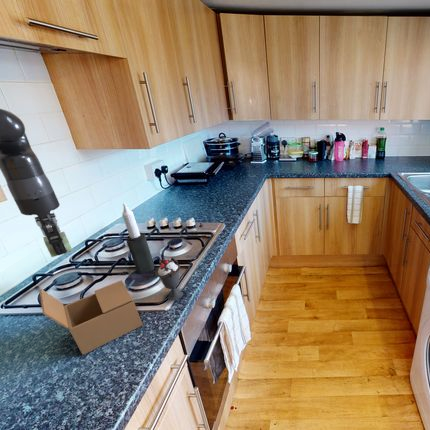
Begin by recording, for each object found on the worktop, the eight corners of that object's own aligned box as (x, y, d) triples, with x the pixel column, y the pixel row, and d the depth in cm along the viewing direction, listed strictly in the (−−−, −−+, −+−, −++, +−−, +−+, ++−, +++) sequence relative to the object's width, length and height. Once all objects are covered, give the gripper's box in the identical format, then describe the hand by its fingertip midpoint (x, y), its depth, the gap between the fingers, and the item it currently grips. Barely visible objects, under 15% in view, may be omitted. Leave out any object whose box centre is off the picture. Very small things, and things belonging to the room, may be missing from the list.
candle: (154, 270, 99) (133, 204, 88) (137, 275, 97) (113, 208, 86) (154, 263, 103) (133, 199, 92) (138, 267, 101) (115, 202, 90)
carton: (83, 356, 68) (67, 327, 64) (76, 330, 76) (62, 303, 72) (143, 325, 77) (132, 299, 73) (131, 305, 84) (121, 279, 80)
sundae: (166, 307, 83) (152, 265, 76) (161, 295, 88) (148, 253, 81) (190, 298, 86) (178, 256, 80) (184, 286, 91) (173, 246, 85)
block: (51, 257, 77) (44, 243, 75) (49, 251, 79) (42, 237, 78) (73, 250, 80) (66, 236, 78) (70, 245, 82) (64, 231, 80)
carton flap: (68, 327, 65) (66, 328, 64) (63, 303, 72) (61, 304, 71) (44, 312, 61) (42, 313, 60) (41, 288, 68) (39, 289, 67)
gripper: (11, 190, 74) (40, 246, 81) (14, 204, 65) (45, 266, 72) (49, 183, 79) (73, 236, 86) (56, 195, 70) (82, 254, 77)
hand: (60, 250), depth 79 cm, fingers closed on block, 4 cm apart
